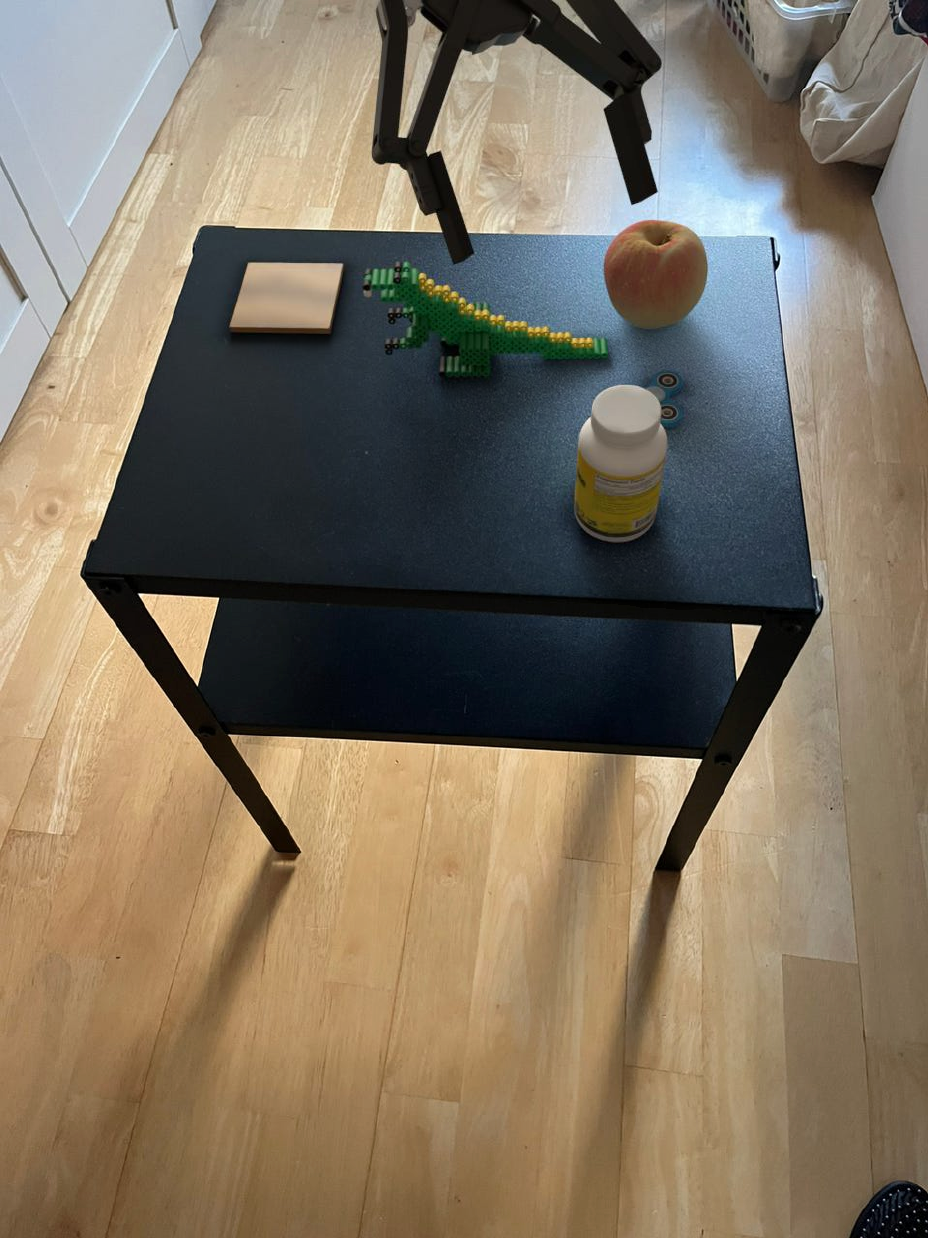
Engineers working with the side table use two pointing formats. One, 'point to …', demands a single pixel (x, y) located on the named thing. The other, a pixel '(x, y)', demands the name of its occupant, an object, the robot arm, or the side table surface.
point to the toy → (666, 396)
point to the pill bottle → (620, 464)
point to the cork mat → (287, 298)
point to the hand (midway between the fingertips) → (556, 228)
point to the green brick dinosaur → (466, 325)
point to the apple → (655, 273)
